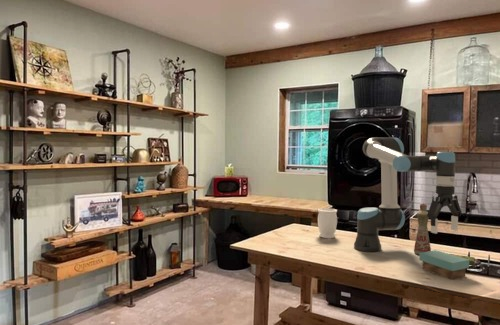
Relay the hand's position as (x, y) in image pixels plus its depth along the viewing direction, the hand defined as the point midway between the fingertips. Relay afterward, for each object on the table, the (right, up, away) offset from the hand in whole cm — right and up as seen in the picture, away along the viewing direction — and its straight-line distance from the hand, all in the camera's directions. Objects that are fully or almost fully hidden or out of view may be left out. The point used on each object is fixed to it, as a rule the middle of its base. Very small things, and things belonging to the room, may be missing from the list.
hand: (444, 231), depth 165 cm
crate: (0, -20, +1) cm, 20 cm away
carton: (+15, -20, +16) cm, 30 cm away
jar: (-38, -17, +72) cm, 84 cm away
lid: (0, -15, +1) cm, 15 cm away
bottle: (+6, -19, +33) cm, 39 cm away
